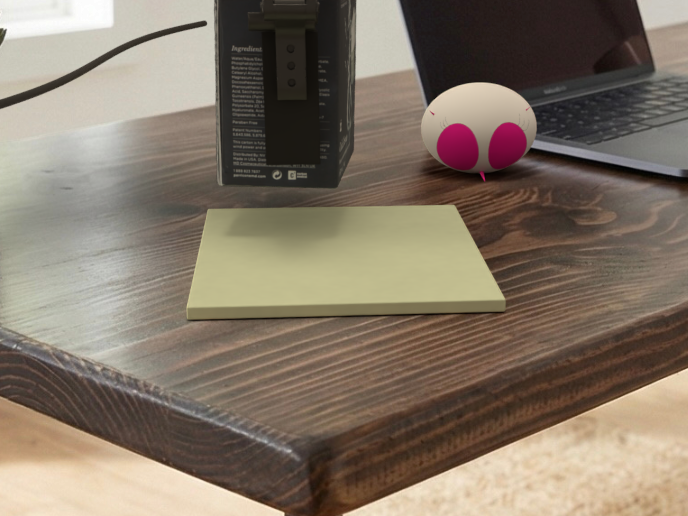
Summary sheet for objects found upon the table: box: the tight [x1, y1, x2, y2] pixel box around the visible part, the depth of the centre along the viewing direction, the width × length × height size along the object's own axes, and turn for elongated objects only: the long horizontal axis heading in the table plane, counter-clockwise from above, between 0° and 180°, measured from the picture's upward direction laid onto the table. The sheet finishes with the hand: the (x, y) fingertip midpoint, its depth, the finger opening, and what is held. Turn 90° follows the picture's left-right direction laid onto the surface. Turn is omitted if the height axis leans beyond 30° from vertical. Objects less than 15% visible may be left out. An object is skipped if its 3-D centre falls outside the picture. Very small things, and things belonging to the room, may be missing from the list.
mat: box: [185, 204, 507, 321], centre depth 65 cm, size 18×14×1 cm
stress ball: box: [420, 82, 538, 182], centre depth 85 cm, size 8×8×7 cm
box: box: [213, 0, 357, 190], centre depth 69 cm, size 11×7×10 cm, turn 179°
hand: (291, 142), depth 71 cm, fingers closed on box, 11 cm apart
